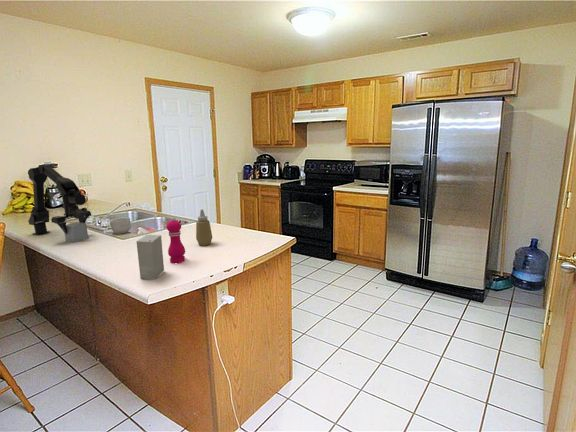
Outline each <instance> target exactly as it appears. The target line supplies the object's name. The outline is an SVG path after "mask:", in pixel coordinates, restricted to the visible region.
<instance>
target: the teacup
mask: <svg viewBox="0 0 576 432" xmlns="http://www.w3.org/2000/svg"><path fill="white" fill-rule="evenodd" d="M109 225H110V228H111V231H112V232H113V233H115V234H118V235H119V234H125V233H128V232H129V231H130V230H131V228H132V222H131V218H130V217H128V216H124V217H118V218H117V217H116V218H113V219H110V220H109Z"/></svg>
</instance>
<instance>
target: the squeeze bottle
mask: <svg viewBox="0 0 576 432" xmlns="http://www.w3.org/2000/svg"><path fill="white" fill-rule="evenodd" d="M211 227H212V226H211V222H210V220H208V216H207V215H205V212H204V209H200V213H199V216H197V221H196V227H195V228H196V229H195V234H196V235H195V238H196V241H197V243H198V245H199V246H202V247H203V246H204V247H205V246H209V245H211V243H212V241H213V233H212V228H211Z"/></svg>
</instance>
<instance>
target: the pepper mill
mask: <svg viewBox="0 0 576 432" xmlns="http://www.w3.org/2000/svg"><path fill="white" fill-rule="evenodd" d="M181 228H182V223H181V222H180V220H179V221H178V220H176V218H175V216H172V217H171V218H170V221H168V222H167V224H166V230H167V231H168V236H169V239H170V242H169V246H168V249H167V255H168V256H169V257H170V258H169V262H170V263H171V264H173V263H174V264H175V263H177V264H182V263H184V262H185V261H186V257H185V254H186V248H185V246H184V245H183V243H182V241H181V234H182V233H181ZM174 264H173V265H174ZM175 265H176V264H175Z"/></svg>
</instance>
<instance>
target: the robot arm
mask: <svg viewBox="0 0 576 432" xmlns="http://www.w3.org/2000/svg"><path fill="white" fill-rule="evenodd" d="M27 174H28V179H29V180H30V181H31V183H32V185H33V186H32V189H33V190H32V191H33V208H32V209H31V210H30V216H29V218H28V221H27V222H28V224H29V226H30V225H31V226H33V228H34V229H33V230H34V232H33V233H32V235H35V236H41V235H45V234H47V233H51V231H50V230H48V229H47V223H50V220H51V223H53V224H55V225H58V227H60V229H61V231H63V233H64V235H65V234H67V228H66V225H67V224H68V223H67V220H69V219H78V222H81V223H86V221H87V220H88V219H89V218H90V217H91V216H92V212H91V211H90V210H88V208H87V207H81V208H79V206H83V205H84V204H85V203H86V201H87V199H86V196H85V195H84V194H82V192H81V191H80V188H79V187H78V185H77V184H76V182H75V181H74V180H73V179H71V178H68V177H64V176H63V175H61V174H60V173H59V172H57V171H56V169H54V167H52V165H50V164H43V165H39V166H38V167H31V168H30V167H29V169H28V170H27ZM48 179H49V180H51V181H53V183H54V184H55V185H56V189H57V190H59V192H60V193H59V196H61V199H62V204H63V205H62V209H63V210H64V213H63V215H57V216H52V217H51V219H50V211H49V210H48V209H47V208H46V206H45V183H46V181H47V180H48Z"/></svg>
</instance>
